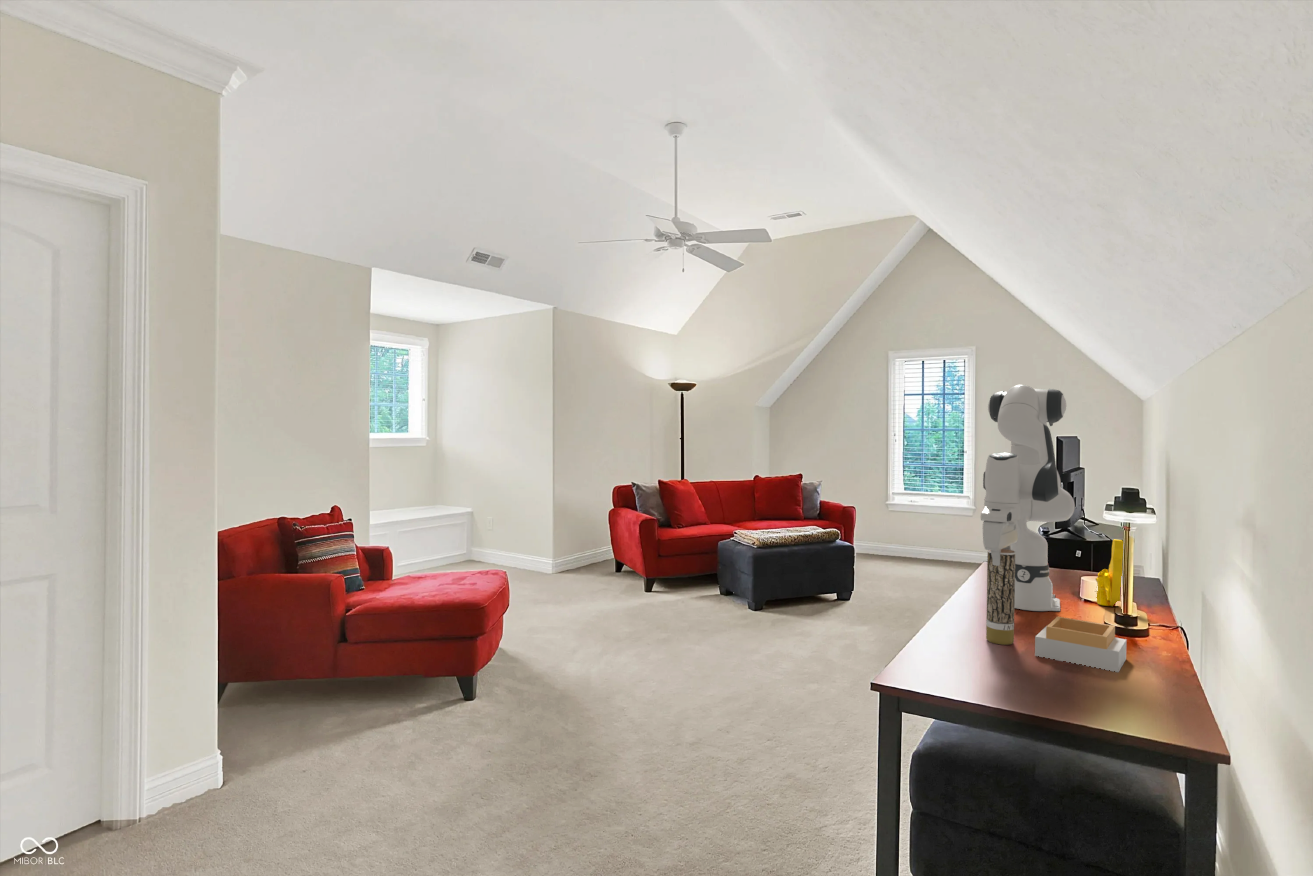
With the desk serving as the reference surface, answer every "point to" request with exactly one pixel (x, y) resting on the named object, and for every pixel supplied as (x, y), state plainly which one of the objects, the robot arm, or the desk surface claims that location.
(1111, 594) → the figure statuette
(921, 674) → the desk surface
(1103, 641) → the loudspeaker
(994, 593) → the paper tube
